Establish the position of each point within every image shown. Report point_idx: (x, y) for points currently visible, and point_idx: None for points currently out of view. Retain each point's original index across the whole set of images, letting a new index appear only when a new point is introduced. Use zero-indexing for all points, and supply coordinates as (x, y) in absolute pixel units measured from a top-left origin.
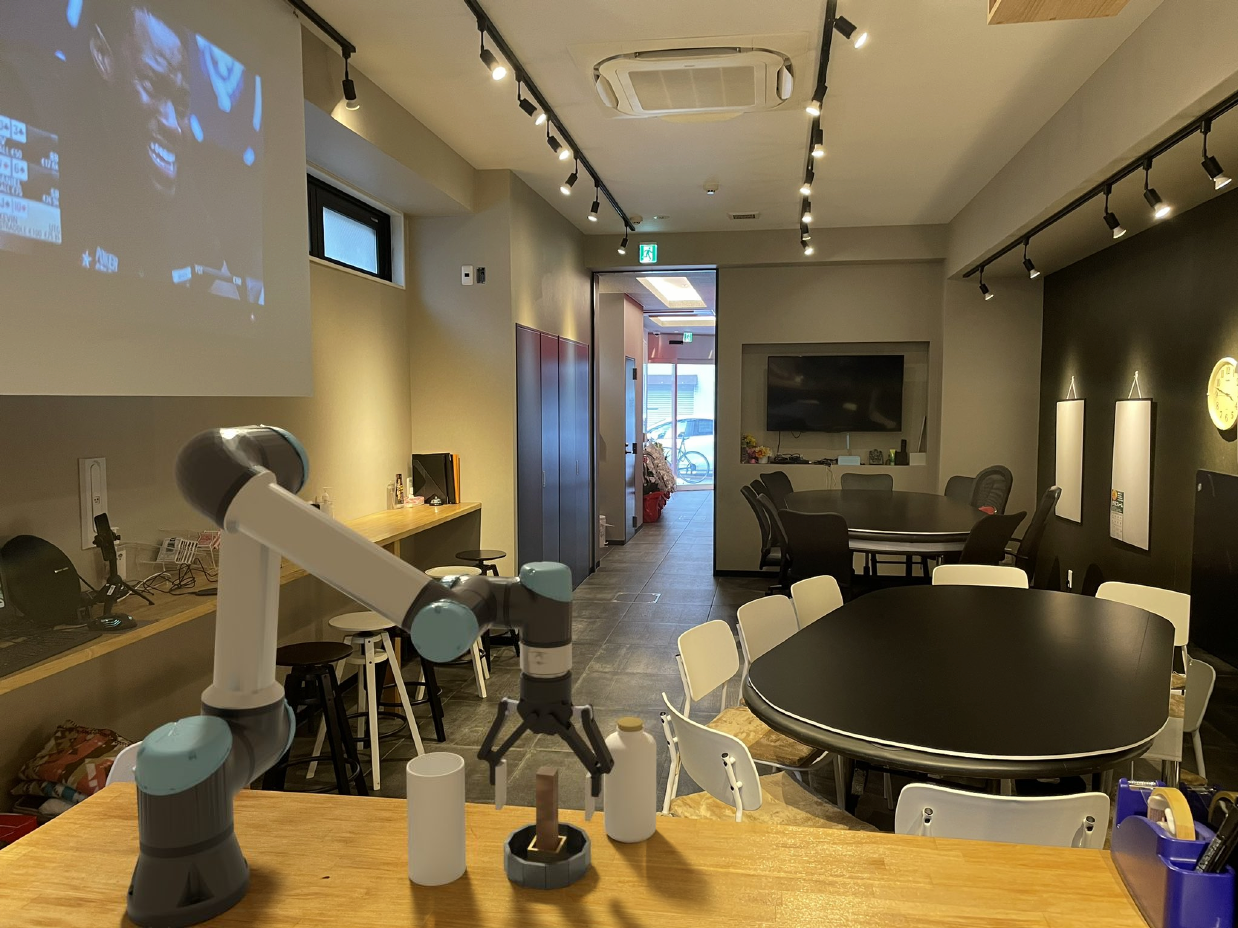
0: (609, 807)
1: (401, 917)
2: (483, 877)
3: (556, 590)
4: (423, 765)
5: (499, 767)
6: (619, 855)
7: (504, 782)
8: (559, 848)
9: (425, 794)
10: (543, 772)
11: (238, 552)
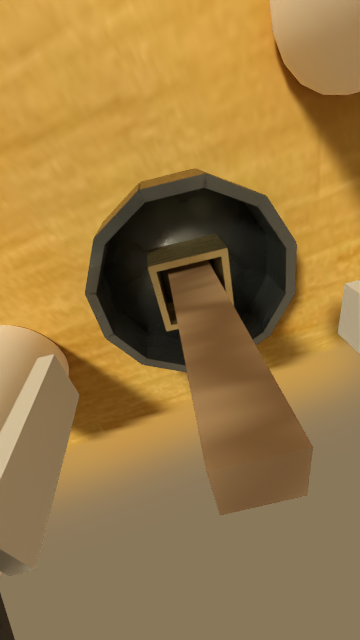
0: (358, 59)
1: (76, 444)
2: (104, 349)
3: None
4: None
5: (30, 568)
6: (329, 160)
7: (39, 436)
8: (231, 300)
9: None
10: (248, 497)
11: None
